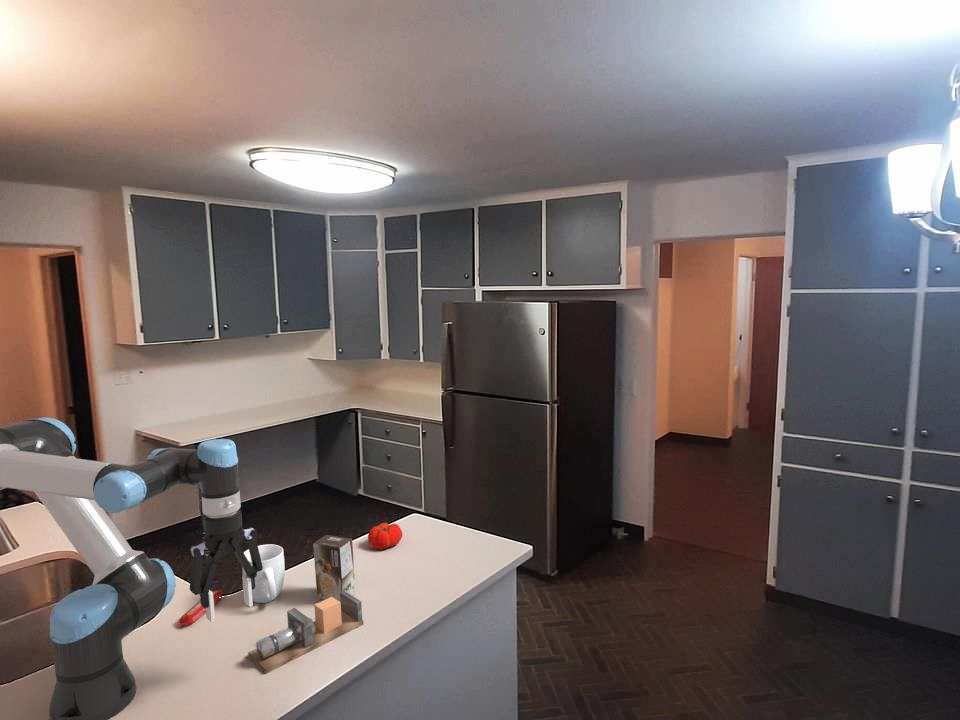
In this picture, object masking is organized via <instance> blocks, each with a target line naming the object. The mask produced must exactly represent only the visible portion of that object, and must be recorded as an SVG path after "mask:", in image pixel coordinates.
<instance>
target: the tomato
mask: <svg viewBox="0 0 960 720" xmlns="http://www.w3.org/2000/svg"><path fill="white" fill-rule="evenodd" d="M402 538H403V532H402V528H401V527H400V526H399V524H397V523H391V524H389V523H388V522H382V523H380V524H378V525H376V526H373V527H372V528H371V529H370V531H369V532H368V535H367V540H368V543H369V545H370V546H371V547H372V548H374V549H376V550H384V549H387V548H391V547H394V546H395V545H397V544H398V543H400V541H401V540H402Z"/></svg>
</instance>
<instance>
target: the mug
mask: <svg viewBox="0 0 960 720" xmlns="http://www.w3.org/2000/svg"><path fill="white" fill-rule="evenodd" d="M258 549H259V553H260V558H261V562H262V566H263V569H262V570H261V571H258V572H257V576H256V577H255V589H253V590H252V601H253V602H255V603H256V604H257V603H258V604H266V603H270V602H273V601H274V600H276V599H277V598H278V597H279V595H280V593H281V591H282V590H283V589H282V588H283V587H284V582H285V581H284V580H285V569H286V568H285V567H286V566H285V555H284V554H285V553H284V548H283V547H282V546H280V545H277V544H272V543H271V544H270V543H269V544H267V543H266V544H261V545H258ZM243 553H244V554H245V556H246V558H247V559H248V561H249V563H250V565H251V566H253V565H252V561H251V556H250V552H249V548H248V549H247V550H245V551H243ZM241 568H242V575H245V574H246V572H245V571H244V569H243V567H242V566H241Z"/></svg>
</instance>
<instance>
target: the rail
mask: <svg viewBox="0 0 960 720" xmlns="http://www.w3.org/2000/svg"><path fill="white" fill-rule="evenodd" d="M340 602H341V620H342V625H340V626H338V627H336V628H334V629H332V630H330V631H328V632H326V633H323V632H322V631H320V630H319V629H318V628H316V624H315V620H313V622H314V624H315V629H316V631H315V634H314V635H312V621H311V619H312V618H311V619H309V618H310V617H308V616H307V615H305V614H304V613H303V612H302V611H299V610H298V609H297V608H296V607H293V608H291V609H288V610H286V617H287V628H288V627H290V626H292V625H295V624H297V623H298V624H299V625H300V626H301V637H302V640H301V641H299V642H297V643H295V644H293V645H291V646H289V647H287V648H285V649H283V650H281V651H279V652H277V653H275V654H272V655H270V656H268V657H266V658H264V659H261V658H260V657H259V655H258V653H257V649H256V648H255V649H253V650H251V651H248V652H247V656H248V658H249V659H250V660H251V661H252V662H253V663H254V664H255V665H257V667H259V669H260V670H261V671H263V673H265V674H268V673H270V672H272V671H274V670H276V669H278V668H280V667H282V666H284V665H286V664H288V663H290V662H292V661H294V660H296V659H298V658H300V657H302V656H304V655H307V653H310V652H311V651H312V652H313V650H316V649H318V648H320V647H321V646H323V645H325V644H327V643H329V642H332V641H333V640H335V639H337V638H339V637H341V636H343V635H345V634H348V633H349V632H351V631H353V630H355V629H358V627H361V626H363V625H364V620H363V609H362V600H360V599H358V598H356V597H355V596H354V595H353V596H352V595H350V594H349V593H347V592H345V591H342V592H340Z"/></svg>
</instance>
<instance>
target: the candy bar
mask: <svg viewBox="0 0 960 720" xmlns="http://www.w3.org/2000/svg"><path fill="white" fill-rule="evenodd" d="M212 592H213V600H214V605H216V604H217V603H218V602H219V601H220V600H221V599H222V598H223V594H224V590H214V591H212ZM219 597H222V598H219ZM205 614H206V608H205V609H204V608H203V607H202V605H201V600H199V601H198V602H196V604H194V605H192V607H191V608H190V609H188V610H187V611H186V612H185V613H184V614H183V615H182V616H181V617H180V618H179V624H178V626H177V627H179V626H180V627H185V626H189V625H190V626H191V625H192V624H194V623H195V622H196V621H197V620H199V619H200V618H202V616H203V615H205Z"/></svg>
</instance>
